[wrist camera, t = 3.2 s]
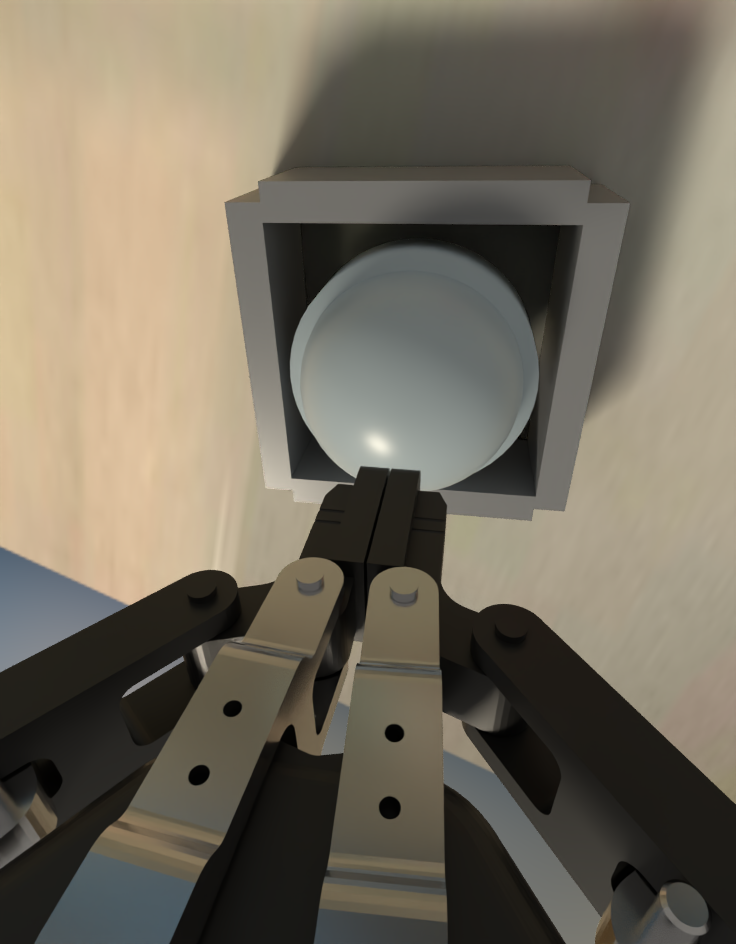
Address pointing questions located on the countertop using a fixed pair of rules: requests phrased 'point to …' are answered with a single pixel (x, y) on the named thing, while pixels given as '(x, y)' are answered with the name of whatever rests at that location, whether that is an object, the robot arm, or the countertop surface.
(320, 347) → the dome
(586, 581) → the countertop surface
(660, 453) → the countertop surface
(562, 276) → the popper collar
